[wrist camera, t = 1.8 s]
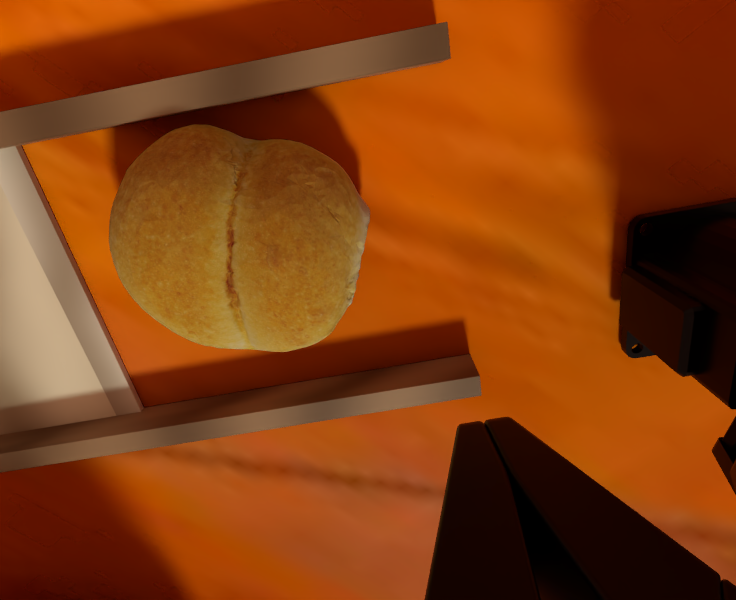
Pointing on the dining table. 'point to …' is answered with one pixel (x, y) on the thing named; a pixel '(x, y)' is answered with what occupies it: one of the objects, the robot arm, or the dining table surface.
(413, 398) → the brown open frame
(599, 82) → the dining table surface
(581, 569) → the robot arm
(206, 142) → the bread roll
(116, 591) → the dining table surface
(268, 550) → the dining table surface
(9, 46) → the dining table surface
